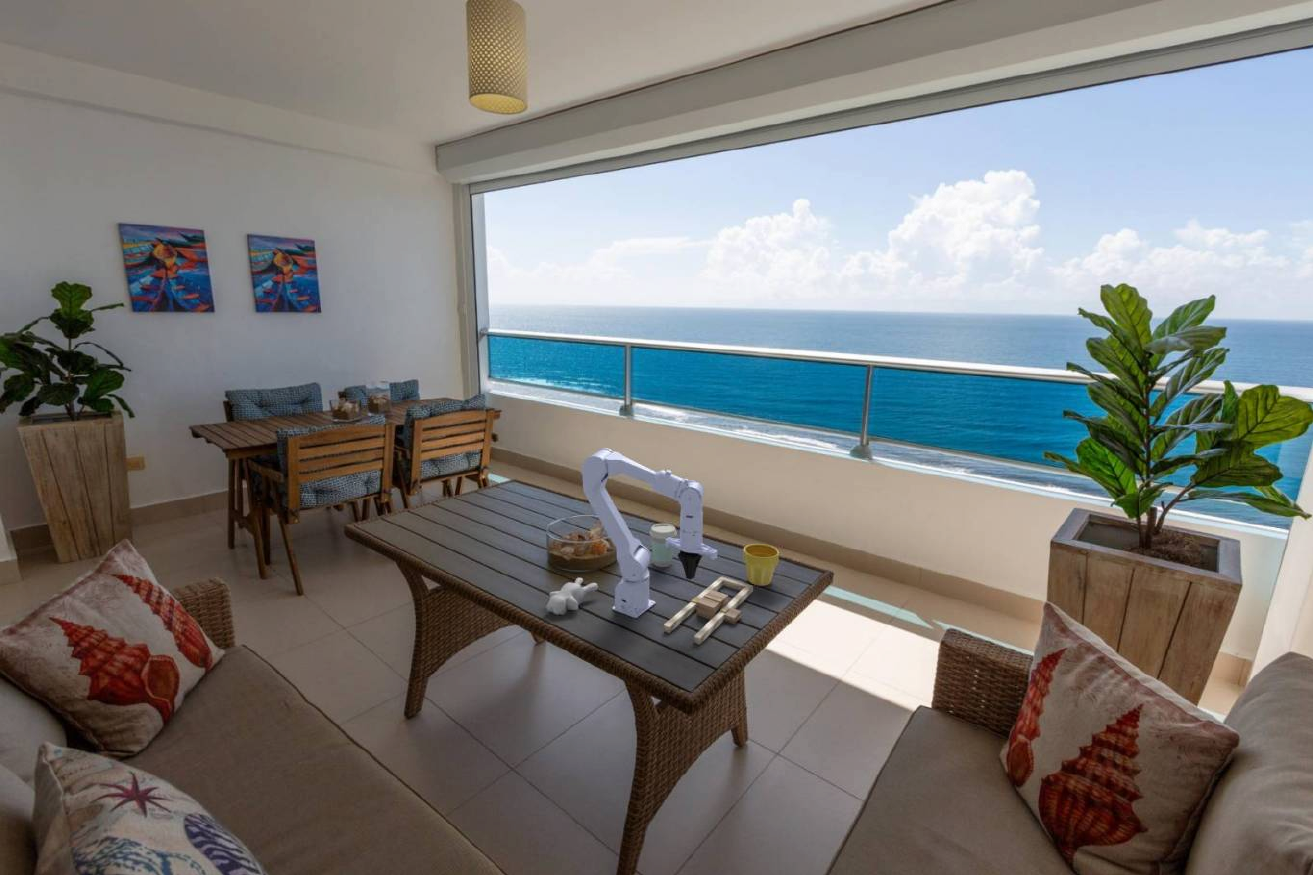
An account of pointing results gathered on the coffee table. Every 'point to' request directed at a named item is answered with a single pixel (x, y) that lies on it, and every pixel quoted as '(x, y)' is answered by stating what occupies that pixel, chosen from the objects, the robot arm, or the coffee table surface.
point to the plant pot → (760, 563)
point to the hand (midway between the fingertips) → (690, 577)
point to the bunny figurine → (569, 597)
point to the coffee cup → (662, 544)
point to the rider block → (711, 604)
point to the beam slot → (725, 614)
